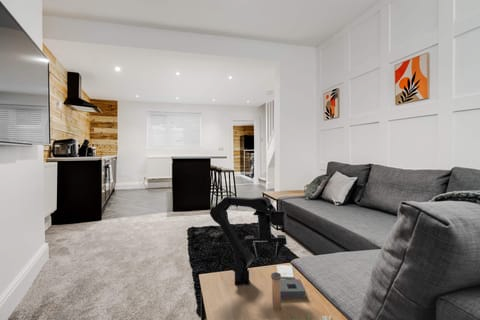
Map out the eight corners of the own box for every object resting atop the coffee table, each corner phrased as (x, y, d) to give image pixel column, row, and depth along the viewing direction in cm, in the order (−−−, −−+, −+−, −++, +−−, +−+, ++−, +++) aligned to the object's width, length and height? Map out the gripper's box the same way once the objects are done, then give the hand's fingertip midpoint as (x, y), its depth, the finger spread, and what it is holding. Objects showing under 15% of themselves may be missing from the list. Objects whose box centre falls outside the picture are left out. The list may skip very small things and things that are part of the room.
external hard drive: (292, 268, 129) (294, 280, 117) (276, 268, 130) (277, 279, 118) (292, 265, 129) (294, 276, 117) (276, 265, 130) (277, 276, 118)
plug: (271, 309, 94) (270, 276, 94) (273, 304, 97) (272, 271, 97) (280, 311, 92) (279, 277, 92) (282, 305, 96) (281, 273, 96)
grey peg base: (277, 298, 101) (276, 291, 101) (274, 286, 111) (273, 279, 111) (305, 298, 101) (305, 291, 101) (300, 285, 111) (300, 279, 111)
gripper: (283, 219, 117) (285, 251, 117) (245, 220, 119) (247, 252, 119) (285, 226, 106) (287, 261, 106) (243, 227, 108) (245, 262, 108)
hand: (266, 258), depth 110 cm, fingers open, 9 cm apart
